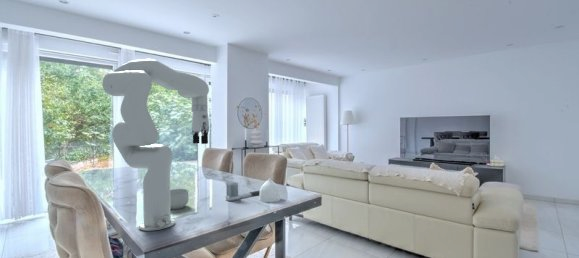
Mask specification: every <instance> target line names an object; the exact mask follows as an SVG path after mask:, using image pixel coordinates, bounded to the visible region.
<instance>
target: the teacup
mask: <svg viewBox="0 0 579 258" xmlns="http://www.w3.org/2000/svg"><path fill="white" fill-rule="evenodd" d="M188 202H189V189H186V188H173V189H170V210H179V209H182V208H184V207H185V206H186V205H188Z"/></svg>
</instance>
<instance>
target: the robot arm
mask: <svg viewBox="0 0 579 258" xmlns="http://www.w3.org/2000/svg"><path fill="white" fill-rule="evenodd" d="M101 83H102V85H101V86H102V89H103V90H104V91H105V93H106V94H108V95H110V96H112V97H113V96H114V97H123V99H122V102H121V105H120V108H119V109H120V110H119V111H120V115H121V117H122V120H121V121H120V122H118V123H116V124H115V125H114V127H113V129H112V132H111V133H112V134H111V135H112V139H113V142H114V145H115V147H116V149H117V150H118V151H119V154H120V156H121V157H122V158H123V161H124V162H125V163H126V164H127V166H129V167H130V168H133V169H143V170H144V169H146V170H147V171H146V173H145V175H144V177H143V180H142V194H143V195H142V197H143V198H142V199H143V202H142V203H143V206H142V207H143V208H142V209H143V221H142V222H140V224H139V225H138V229H139V230H140V231H148V232H150V231H151V232H152V231H153V232H154V231H160V230H164V229H168V228H170V227H172V226H174V225H175V224H176V220H175V219H174V218H173V217H171V214H172V213H171V209H170V190H171V168H172V162H173V156H174V155H173V151H172V149H171V148H170V147H169V146H168V145H166V144H161V143H157V142H158V141H159V138H160V137H159V131H158V129H157V127H156V124H155V123H154V120H153V117H152V116H151V114H150V110H149V108H148V104H147V103H148V98H149V95H150V93H151V89H152V87H153V86H152V85H153V84H155V85H157V86H160V87H162V88H164V89H165V90H169V91H177V94H178V96H180V97H181V98H184V99H191V113H192V119H191V121H192V124H191V125H192V126H191V130H192V131H191V133H192V144H201V145H207V144H209V131H210V122H209V120H210V119H209V114H208V112H209V111H208V106H209V105H208V94H209V93H210V87H209V85H208V83H207V82H206V81H205V80H204V79H202V78H201V77H199V76H196V75H193V74H189V73H185V72H181V71H177V70H175V69H173V68H171V67H169V66H167V65H166V64H164V63H162V62H160V61H159V60H156V59H154V58H153V59H151V58H146V59H135V60H131V61H128V62H126V63H124V64H121V65H120V66H118V67H116V68H114V69H113V70H110V71H108V73H106V74H105V75H104V77H103V78H102V82H101ZM200 133H201V136H200ZM200 137H201V138H200ZM200 141H201V143H200Z"/></svg>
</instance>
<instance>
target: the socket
mask: <svg viewBox="0 0 579 258" xmlns="http://www.w3.org/2000/svg"><path fill="white" fill-rule="evenodd" d="M225 183H226V185H225V186H226V188H225V189H226V190H225V191H226V196H229V197H235V196H238V195H239V182H238V181H229V182H225Z"/></svg>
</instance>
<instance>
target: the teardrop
mask: <svg viewBox="0 0 579 258" xmlns="http://www.w3.org/2000/svg"><path fill="white" fill-rule="evenodd" d="M259 190H260V193H259V195H258V196H259V197H258V199H259V201H260V202H263V203H275V202H278V201H280V200H281V194H280V193H281V192H280V191H281V190H280V188H279V186H278V184H277V183H275V182H274V181H273V180H272V179H271V177H268V179H267V180H266V181H265V182H264V183H262V185H261V187H260V189H259Z"/></svg>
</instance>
